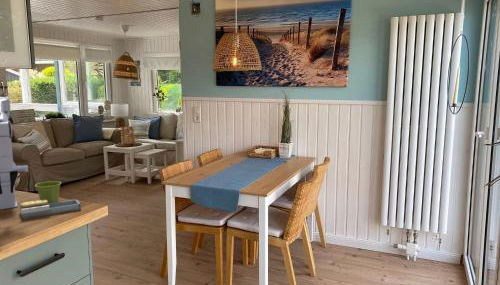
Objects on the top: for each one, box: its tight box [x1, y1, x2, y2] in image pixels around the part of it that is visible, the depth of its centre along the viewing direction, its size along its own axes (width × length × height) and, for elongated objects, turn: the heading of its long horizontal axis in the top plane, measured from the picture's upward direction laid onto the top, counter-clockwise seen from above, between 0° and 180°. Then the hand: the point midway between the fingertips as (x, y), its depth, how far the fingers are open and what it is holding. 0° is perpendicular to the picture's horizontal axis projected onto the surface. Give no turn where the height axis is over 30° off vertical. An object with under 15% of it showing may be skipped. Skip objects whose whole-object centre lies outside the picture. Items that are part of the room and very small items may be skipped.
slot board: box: [19, 203, 51, 220], centre depth 146 cm, size 9×9×4 cm
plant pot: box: [34, 180, 62, 203], centre depth 156 cm, size 9×9×9 cm
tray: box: [48, 198, 82, 215], centre depth 151 cm, size 8×11×2 cm
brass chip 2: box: [34, 199, 48, 207], centre depth 147 cm, size 4×4×2 cm
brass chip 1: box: [21, 200, 35, 209], centre depth 144 cm, size 4×4×2 cm
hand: (6, 192), depth 140 cm, fingers open, 3 cm apart
